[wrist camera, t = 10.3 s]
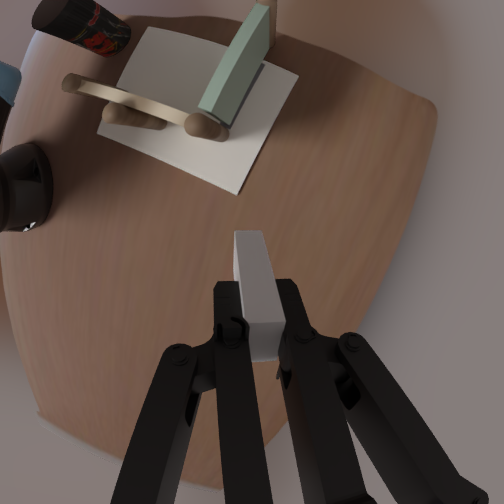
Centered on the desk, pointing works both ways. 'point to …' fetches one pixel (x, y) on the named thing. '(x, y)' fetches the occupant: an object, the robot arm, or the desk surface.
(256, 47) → the fence gate
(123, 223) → the desk surface
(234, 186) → the card
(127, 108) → the fence fixed
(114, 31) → the deodorant
